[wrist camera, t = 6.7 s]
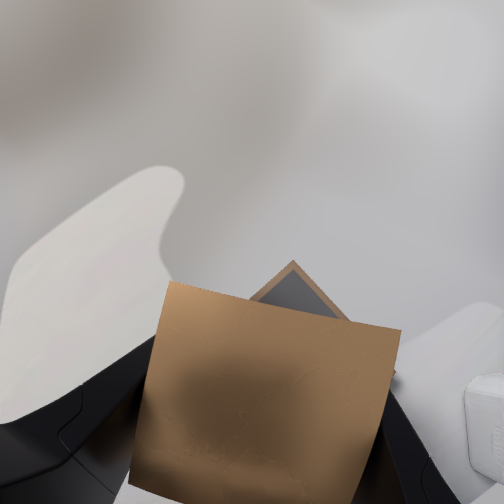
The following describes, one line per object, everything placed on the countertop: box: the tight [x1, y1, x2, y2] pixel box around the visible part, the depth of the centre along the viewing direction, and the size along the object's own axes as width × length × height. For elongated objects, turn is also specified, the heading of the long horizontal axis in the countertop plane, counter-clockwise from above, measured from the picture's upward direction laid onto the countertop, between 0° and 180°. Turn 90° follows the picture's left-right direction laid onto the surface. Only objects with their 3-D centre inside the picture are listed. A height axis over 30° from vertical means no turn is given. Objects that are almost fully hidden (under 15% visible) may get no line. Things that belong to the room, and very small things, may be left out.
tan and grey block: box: [128, 281, 401, 504], centre depth 10 cm, size 6×6×9 cm
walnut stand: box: [249, 260, 396, 376], centre depth 20 cm, size 11×11×2 cm
